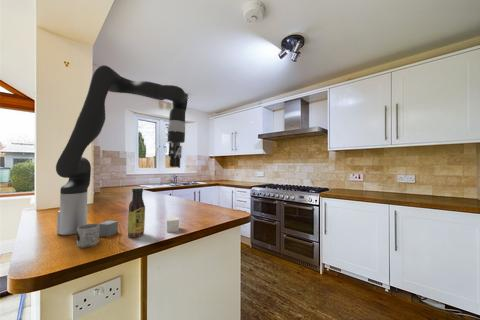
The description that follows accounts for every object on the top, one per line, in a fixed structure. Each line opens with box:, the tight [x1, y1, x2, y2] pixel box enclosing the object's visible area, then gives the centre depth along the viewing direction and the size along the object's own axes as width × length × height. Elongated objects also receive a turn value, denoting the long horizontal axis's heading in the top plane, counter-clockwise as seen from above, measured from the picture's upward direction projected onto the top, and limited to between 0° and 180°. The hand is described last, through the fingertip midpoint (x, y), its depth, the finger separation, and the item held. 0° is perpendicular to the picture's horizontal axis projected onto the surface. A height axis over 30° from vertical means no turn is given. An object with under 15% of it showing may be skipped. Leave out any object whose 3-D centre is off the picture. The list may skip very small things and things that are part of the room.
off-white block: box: [166, 216, 180, 233], centre depth 90 cm, size 5×5×5 cm
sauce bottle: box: [127, 187, 146, 239], centre depth 82 cm, size 6×6×20 cm
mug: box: [76, 223, 100, 249], centre depth 72 cm, size 10×7×7 cm
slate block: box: [98, 220, 119, 238], centre depth 84 cm, size 5×5×5 cm
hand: (174, 166), depth 89 cm, fingers open, 8 cm apart
